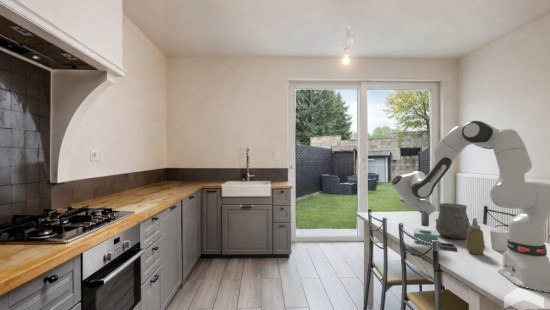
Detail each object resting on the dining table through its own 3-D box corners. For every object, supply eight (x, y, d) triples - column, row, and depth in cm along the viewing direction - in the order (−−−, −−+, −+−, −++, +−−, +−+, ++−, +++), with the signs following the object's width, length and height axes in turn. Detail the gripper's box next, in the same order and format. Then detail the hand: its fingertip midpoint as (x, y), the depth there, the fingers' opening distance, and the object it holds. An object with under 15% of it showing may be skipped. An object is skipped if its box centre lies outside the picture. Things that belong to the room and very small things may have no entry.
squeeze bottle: (468, 254, 142) (468, 219, 142) (463, 249, 150) (463, 216, 150) (487, 256, 139) (487, 220, 140) (481, 251, 147) (481, 217, 147)
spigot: (429, 226, 165) (428, 203, 165) (421, 226, 167) (421, 202, 167) (428, 225, 169) (428, 202, 169) (421, 224, 170) (421, 201, 170)
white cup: (512, 252, 145) (512, 233, 145) (495, 251, 147) (495, 232, 147) (503, 247, 153) (503, 229, 153) (487, 246, 155) (487, 228, 155)
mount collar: (457, 251, 148) (457, 248, 148) (439, 249, 151) (439, 246, 151) (454, 246, 155) (454, 243, 155) (438, 244, 159) (438, 242, 159)
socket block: (437, 244, 159) (437, 235, 160) (414, 241, 165) (414, 233, 165) (435, 238, 170) (435, 230, 170) (413, 236, 175) (413, 228, 176)
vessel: (427, 236, 175) (427, 204, 175) (439, 230, 190) (439, 201, 190) (468, 244, 159) (468, 209, 159) (478, 237, 174) (477, 204, 174)
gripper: (429, 196, 156) (443, 212, 158) (403, 191, 176) (416, 206, 178) (422, 204, 155) (437, 221, 157) (397, 199, 174) (410, 214, 177)
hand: (425, 213), depth 168 cm, fingers closed on spigot, 4 cm apart
